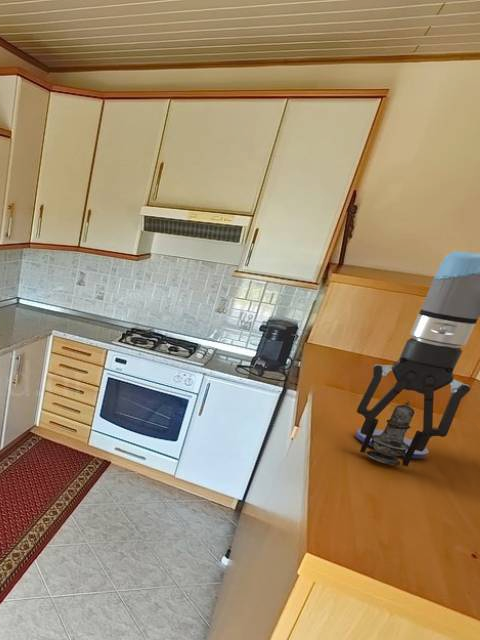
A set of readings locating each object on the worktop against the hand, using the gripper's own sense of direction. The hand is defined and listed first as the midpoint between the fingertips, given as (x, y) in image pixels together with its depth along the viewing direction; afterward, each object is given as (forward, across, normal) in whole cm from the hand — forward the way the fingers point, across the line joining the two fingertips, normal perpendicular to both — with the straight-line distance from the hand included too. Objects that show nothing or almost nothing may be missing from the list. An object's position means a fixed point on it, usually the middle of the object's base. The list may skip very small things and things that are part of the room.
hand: (383, 456), depth 94 cm
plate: (+1, +1, +12) cm, 13 cm away
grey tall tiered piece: (+1, 0, 0) cm, 1 cm away
